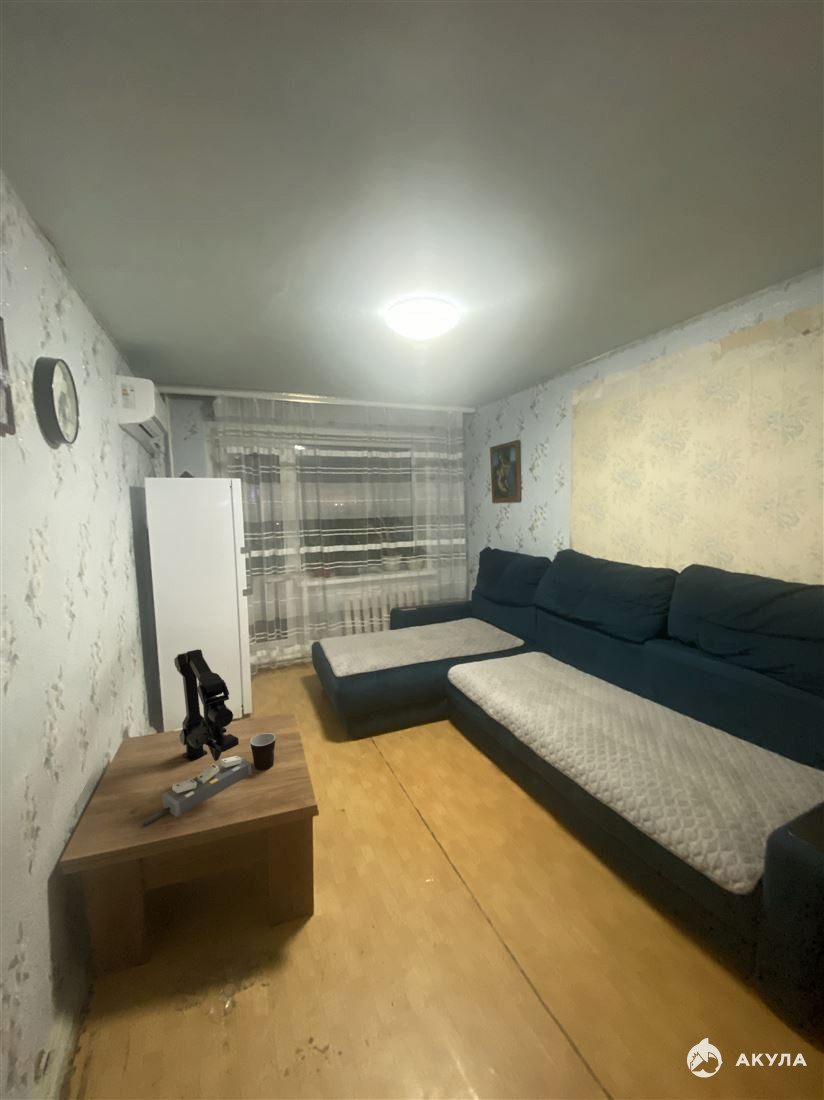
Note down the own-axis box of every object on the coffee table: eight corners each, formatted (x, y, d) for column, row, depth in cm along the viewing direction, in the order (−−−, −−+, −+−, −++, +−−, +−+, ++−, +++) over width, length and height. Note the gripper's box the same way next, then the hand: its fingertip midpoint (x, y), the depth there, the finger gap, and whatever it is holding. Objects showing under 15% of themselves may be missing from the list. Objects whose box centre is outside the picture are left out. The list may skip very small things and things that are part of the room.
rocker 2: (198, 780, 145) (196, 776, 144) (214, 767, 149) (213, 763, 149) (203, 783, 143) (201, 779, 142) (219, 770, 147) (218, 766, 147)
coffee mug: (269, 774, 154) (267, 747, 153) (246, 771, 156) (245, 744, 155) (285, 755, 166) (283, 730, 164) (264, 753, 167) (262, 728, 166)
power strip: (136, 820, 132) (135, 807, 132) (237, 766, 159) (237, 755, 159) (149, 832, 127) (148, 819, 127) (251, 773, 154) (250, 762, 154)
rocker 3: (219, 764, 151) (220, 759, 151) (235, 760, 156) (236, 755, 156) (225, 767, 149) (226, 762, 149) (240, 763, 154) (241, 758, 154)
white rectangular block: (172, 789, 138) (173, 783, 138) (190, 784, 143) (191, 779, 143) (177, 793, 136) (178, 787, 136) (195, 787, 141) (196, 782, 141)
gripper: (174, 717, 145) (177, 762, 147) (205, 734, 134) (208, 782, 136) (206, 705, 154) (209, 747, 156) (238, 719, 143) (240, 765, 145)
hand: (216, 760), depth 148 cm, fingers closed
